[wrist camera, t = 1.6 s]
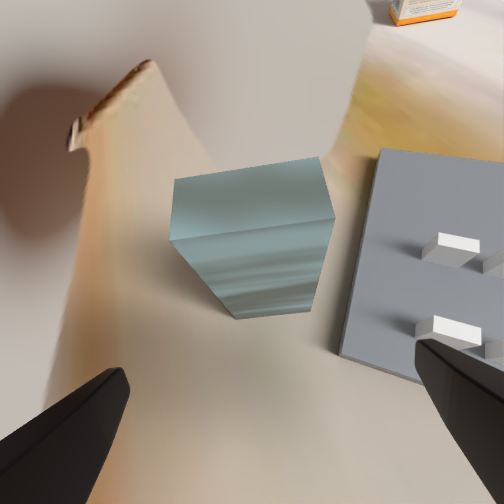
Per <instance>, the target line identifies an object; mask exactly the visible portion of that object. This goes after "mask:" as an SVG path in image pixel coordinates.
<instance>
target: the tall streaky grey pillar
mask: <svg viewBox="0 0 504 504" xmlns="http://www.w3.org/2000/svg"><path fill="white" fill-rule="evenodd" d="M334 221H335V215H334V211H333V207H332V204H331V200H330V196H329V193H328V189H327V186H326V182H325V178H324V175H323V171H322V168H321V164H320V160H319V157H314V158H307V159H301V160H295V161H288V162H283V163H276V164H269V165H263V166H257V167H250V168H244V169H238V170H231V171H225V172H218V173H212V174H206V175H199V176H193V177H187V178H180V179H175V181H174V192H173V203H172V214H171V224H170V235H169V241H170V242H171V244H172V245H173V246H174V247H175V248H176V249H177V251H178V252H179V253H180V254H181V255H182V256H183V258H184V259H185V260H186V261H187V262H188V263H189V265H190V266H191V267H192V268H193V269H194V271H195V272H196V273H197V274H198V275H199V276H200V278H201V279H202V280H203V281H204V282H205V283H206V285H207V286H208V287H209V288H210V289H211V290H212V292H213V293H214V294H215V295H216V296H217V298H218V299H219V300H220V301H221V302H222V303H223V305H224V306H225V307H226V308H227V309H228V310H229V312H230V313H231V314H232V315H233V316H234V318H235V319H245V318H255V317H264V316H274V315H283V314H292V313H302V312H310V311H311V307H312V303H313V299H314V296H315V292H316V288H317V285H318V281H319V277H320V273H321V270H322V266H323V262H324V259H325V255H326V251H327V247H328V244H329V240H330V236H331V233H332V229H333V225H334Z"/></svg>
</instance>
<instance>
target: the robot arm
mask: <svg viewBox="0 0 504 504" xmlns="http://www.w3.org/2000/svg"><path fill="white" fill-rule="evenodd" d="M414 364H415V368H416V371H417V373H418V375H419V377H420V379H421V381H422V382H423V384H424V386H425V388H426V390H427V392H428V394H429V396H430V397H431V399H432V401H433V403H434V405H435V407H436V409H437V411H438V412H439V414H440V416H441V418H442V420H443V422H444V423H445V425H446V427H447V429H448V430H449V432H450V433H451V435H452V436H453V438H454V440H455V441H456V443H457V444H458V446H459V447H460V449H461V450H462V452H463V453H464V455H465V456H466V458H467V459H468V461H469V462H470V464H471V465H472V467H473V469H474V470H475V472H476V473H477V475H478V476H479V478H480V479H481V481H482V482H483V484H484V485H485V487H486V488H487V490H488V491H489V493H490V494H491V496H492V498H493V499H494V501H495V502H496V504H504V371H502V370H499V369H497V368H495V367H493V366H491V365H489V364H487V363H484V362H482V361H480V360H478V359H476V358H474V357H471V356H469V355H467V354H465V353H463V352H461V351H459V350H456V349H454V348H452V347H450V346H448V345H446V344H443V343H441V342H439V341H437V340H435V339H431V338H429V339H419V340H417V341H416V343H415V359H414ZM129 395H130V386H129V383H128V380H127V378H126V375H125V372H124V370H123V369H122V368H120V367H116V368H109V369H106V370H105V371H103V372H102V373H100V374H99V375H97V376H96V377H95V378H93V379H92V380H90V381H89V382H87V383H86V384H84V385H83V386H81V387H80V388H78V389H77V390H75V391H74V392H72V393H71V394H69V395H68V396H66V397H65V398H63V399H62V400H60V401H59V402H57V403H56V404H54V405H53V406H51V407H50V408H48V409H47V410H45V411H44V412H42V413H41V414H39V415H38V416H37V417H35V418H33V419H32V420H30V421H29V422H27V423H26V424H25V425H23V426H22V427H20V428H19V429H17V430H16V431H14V432H13V433H11V434H10V435H8V436H7V437H5V438H4V439H2V440H1V441H0V504H86V502H87V500H88V498H89V496H90V493H91V491H92V489H93V487H94V484H95V482H96V480H97V478H98V476H99V473H100V471H101V469H102V467H103V464H104V462H105V460H106V458H107V455H108V453H109V451H110V448H111V446H112V443H113V440H114V438H115V435H116V432H117V429H118V426H119V424H120V421H121V418H122V415H123V412H124V409H125V407H126V404H127V401H128V398H129Z"/></svg>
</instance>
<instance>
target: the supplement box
mask: <svg viewBox="0 0 504 504" xmlns="http://www.w3.org/2000/svg"><path fill="white" fill-rule="evenodd" d="M461 2H462V0H392V1H391V5H390V9H389V14H390V16H391V17H392V19H393V21H394V23H395V24H396V26H400V25H405V24H411V23H416V22H422V21H427V20H434V19H440V18H446V17H452V16H455V15H456V13H457V11H458V9H459V6H460V4H461Z"/></svg>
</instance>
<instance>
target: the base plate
mask: <svg viewBox="0 0 504 504" xmlns="http://www.w3.org/2000/svg"><path fill="white" fill-rule="evenodd" d="M429 338H431V339H435V340H437V341H439V342H441V343H443V344H446V345H448V346H450V347H452V348H454V349H456V350H459V351H461V352H463V353H465V354H467V355H469V356H471V357H474V358H476V359H478V360H480V361H482V362H484V363H487V364H489V365H491V366H493V367H495V368H497V369H499V370H502V371H504V163H500V162H492V161H484V160H475V159H467V158H459V157H451V156H443V155H435V154H427V153H419V152H411V151H403V150H394V149H386V148H381V150H380V153H379V155H378V158H377V162H376V167H375V172H374V177H373V182H372V187H371V192H370V197H369V202H368V207H367V212H366V217H365V222H364V227H363V232H362V237H361V242H360V247H359V252H358V257H357V262H356V267H355V272H354V277H353V282H352V287H351V292H350V297H349V302H348V307H347V312H346V317H345V322H344V327H343V332H342V337H341V342H340V347H339V352H338V356H340V357H343V358H346V359H349V360H351V361H354V362H357V363H360V364H363V365H366V366H369V367H372V368H375V369H378V370H381V371H383V372H386V373H389V374H392V375H395V376H398V377H401V378H404V379H407V380H410V381H413V382H415V383H418V384H421V385H424V384H423V382H422V381H421V379H420V377H419V375H418V373H417V371H416V368H415V364H414V359H415V343H416V341H417V340H419V339H429Z"/></svg>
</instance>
